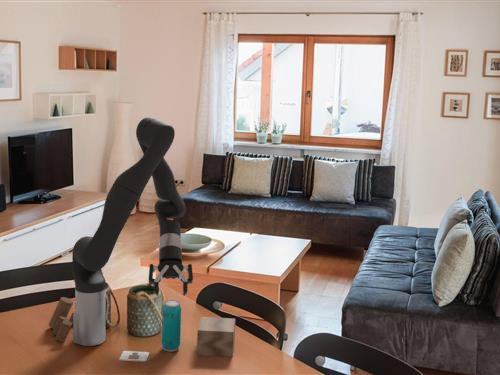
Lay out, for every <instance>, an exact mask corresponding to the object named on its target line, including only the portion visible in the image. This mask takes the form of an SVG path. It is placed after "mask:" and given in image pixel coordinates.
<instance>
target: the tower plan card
mask: <svg viewBox="0 0 500 375" xmlns="http://www.w3.org/2000/svg"><path fill="white" fill-rule="evenodd" d="M149 355H150V351H133V350H123V351H122V352H121V355H120V356H119V358H118V361H125V362H127V361H128V362H129V361H130V362H145V363H146V362H147V361H148V357H149Z"/></svg>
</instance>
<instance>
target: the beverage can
mask: <svg viewBox="0 0 500 375" xmlns="http://www.w3.org/2000/svg"><path fill="white" fill-rule="evenodd" d="M161 308H162V309H161V310H162V312H161V314H162V317H161V318H162V319H161V324H162V325H161V345H162V348H163V350H164V352H165V351H166V352H173V353H174V352H177V351H178V350H179V348H180V345H181V333H182V332H181V329H182V328H181V324H182V306H181V302H180V301H178V300H174V299H169V300H165V301H164V302H163V306H162V307H161Z"/></svg>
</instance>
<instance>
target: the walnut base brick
mask: <svg viewBox="0 0 500 375" xmlns="http://www.w3.org/2000/svg"><path fill="white" fill-rule="evenodd" d="M235 336H236V318H230V317H229V318H228V317H212V316H211V317H210V316H209V317H208V316H201V317H200V319H199V324H198V328H197V336H196V337H197V339H196V341H197V342H196V356H210V357H211V356H213V357H228V358H229V357H231V358H233V356H234V348H235V339H236V338H235Z"/></svg>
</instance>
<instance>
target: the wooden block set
mask: <svg viewBox="0 0 500 375" xmlns="http://www.w3.org/2000/svg"><path fill="white" fill-rule="evenodd" d="M73 303H74V301H73V300H72V299H70V298H69V297H65V296H62V297H60V299H59V300H58V302H57V305H56V308H55V309H54V311H53V314H52V316H51V317H50V320H49V322H48V326H49V328H51V329H52V332H51V334H52V335H55V338H54V340H55V341H58V342H60V343H65V342H66V339H67V338H68V335H69V333H70V331H71V329H72V326H73V315H74V313H75V312H71V315H70V316H69V317H70V318H67V317H68V315H69V313H70V311H71V310H72V309H71V308H72V306H73Z"/></svg>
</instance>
